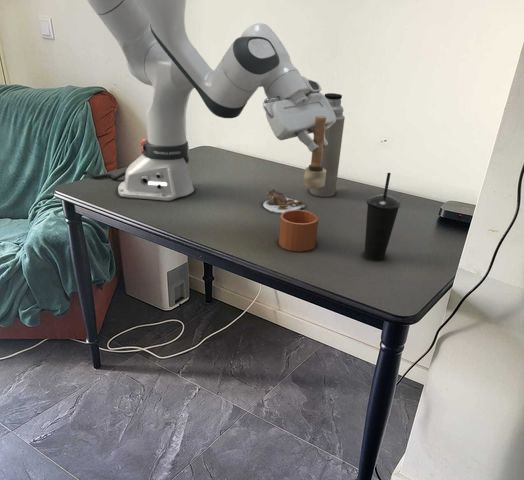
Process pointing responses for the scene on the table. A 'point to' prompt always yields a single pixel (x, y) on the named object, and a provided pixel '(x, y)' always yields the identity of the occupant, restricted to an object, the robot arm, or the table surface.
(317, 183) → the brush
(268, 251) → the table surface
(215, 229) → the table surface
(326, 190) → the thermos bottle
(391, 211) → the drinking cup
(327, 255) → the table surface
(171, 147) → the robot arm
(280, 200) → the frog figurine
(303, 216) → the tumbler
